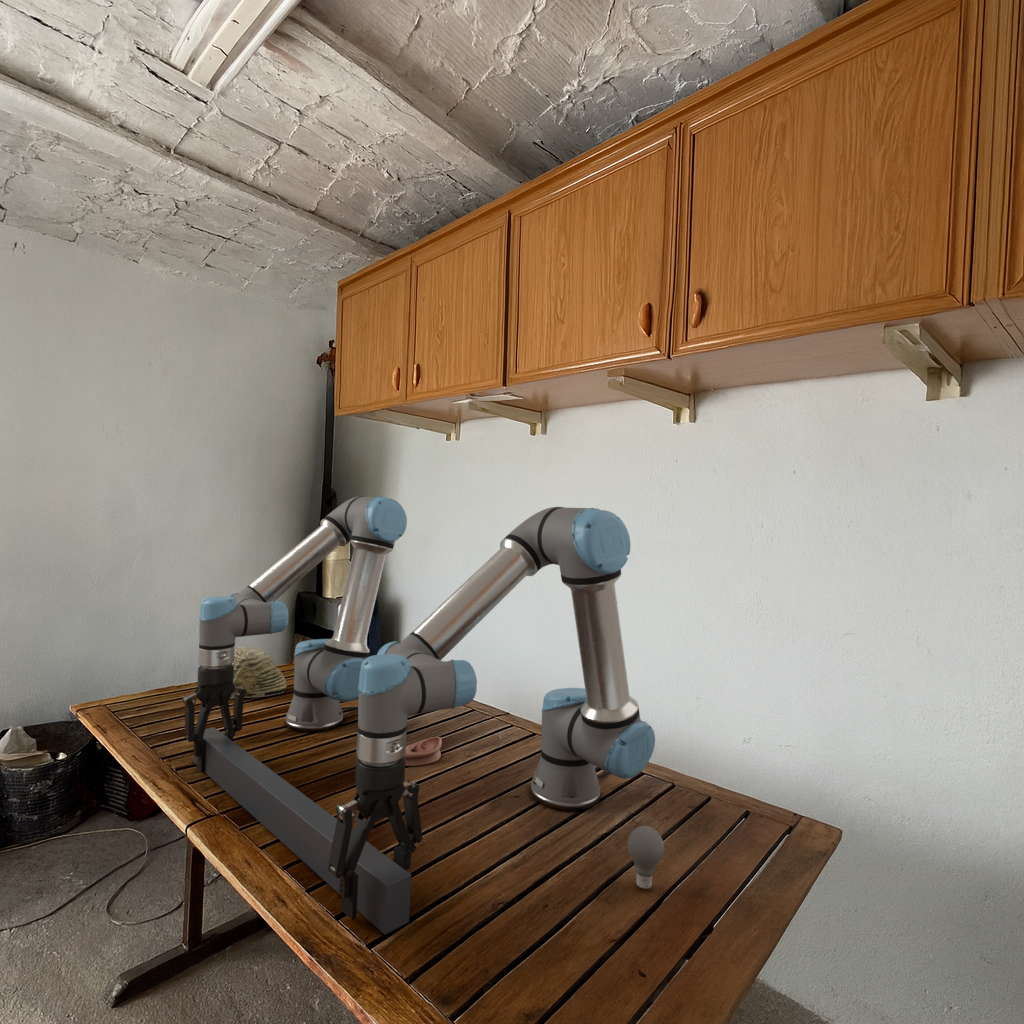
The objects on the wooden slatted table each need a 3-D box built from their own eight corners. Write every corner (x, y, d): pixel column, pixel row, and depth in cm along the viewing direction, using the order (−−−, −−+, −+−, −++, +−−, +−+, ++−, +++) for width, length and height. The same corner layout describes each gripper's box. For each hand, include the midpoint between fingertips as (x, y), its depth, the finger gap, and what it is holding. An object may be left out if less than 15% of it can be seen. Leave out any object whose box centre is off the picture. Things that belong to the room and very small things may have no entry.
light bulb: (621, 876, 110) (624, 818, 109) (655, 875, 110) (658, 819, 110) (631, 897, 104) (634, 837, 103) (666, 897, 104) (669, 837, 104)
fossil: (218, 695, 195) (220, 647, 195) (278, 685, 208) (279, 640, 207) (228, 703, 189) (230, 653, 188) (289, 692, 201) (290, 645, 201)
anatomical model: (378, 746, 151) (397, 729, 163) (378, 762, 151) (396, 745, 163) (431, 753, 149) (446, 735, 160) (431, 770, 149) (445, 751, 160)
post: (193, 762, 148) (194, 731, 148) (212, 757, 151) (213, 727, 151) (384, 935, 93) (386, 886, 92) (409, 921, 96) (411, 874, 96)
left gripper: (180, 674, 136) (177, 782, 136) (261, 662, 148) (257, 761, 149) (169, 667, 141) (165, 771, 142) (247, 656, 154) (244, 751, 154)
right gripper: (331, 785, 88) (325, 946, 88) (449, 747, 103) (443, 885, 103) (305, 767, 93) (299, 920, 93) (421, 734, 108) (415, 865, 108)
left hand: (212, 765), depth 145 cm, fingers closed on post, 4 cm apart
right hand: (375, 902), depth 98 cm, fingers open, 8 cm apart
